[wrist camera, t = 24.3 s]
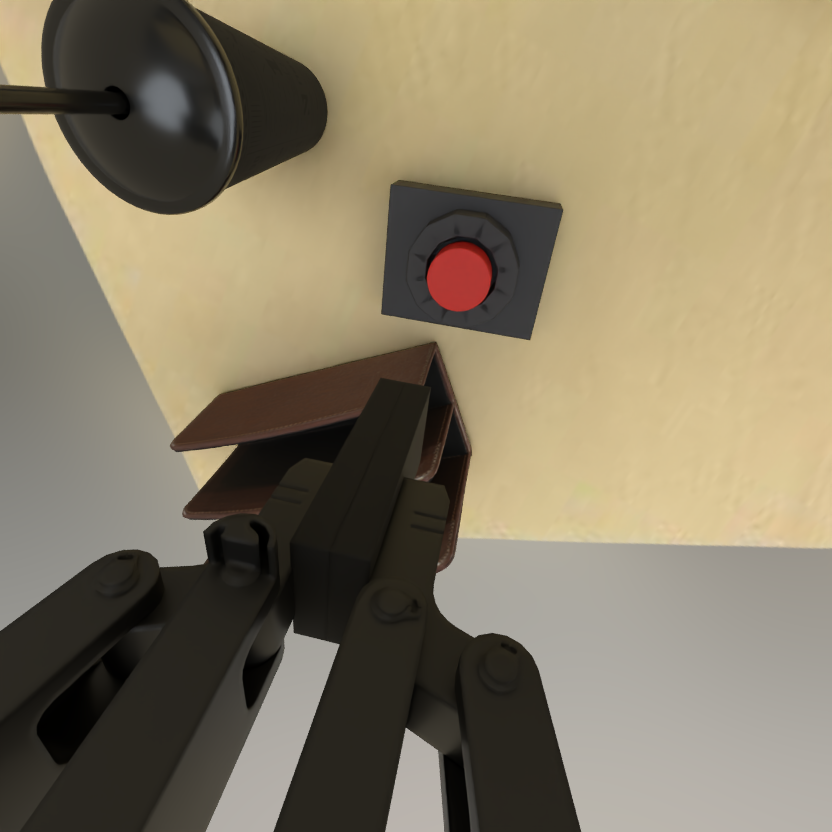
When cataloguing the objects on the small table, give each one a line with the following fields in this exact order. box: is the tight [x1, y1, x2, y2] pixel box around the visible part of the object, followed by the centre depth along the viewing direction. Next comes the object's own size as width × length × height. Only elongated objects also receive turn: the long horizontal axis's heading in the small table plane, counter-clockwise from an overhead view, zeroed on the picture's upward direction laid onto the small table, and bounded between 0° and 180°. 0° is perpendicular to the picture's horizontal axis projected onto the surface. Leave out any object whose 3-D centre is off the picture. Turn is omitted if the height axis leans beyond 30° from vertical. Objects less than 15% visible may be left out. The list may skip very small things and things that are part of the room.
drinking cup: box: [0, 0, 327, 215], centre depth 21 cm, size 8×8×20 cm
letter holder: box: [170, 342, 472, 573], centre depth 35 cm, size 10×20×14 cm, turn 109°
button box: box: [381, 180, 563, 340], centre depth 30 cm, size 10×8×4 cm
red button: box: [427, 241, 492, 311], centre depth 28 cm, size 4×4×2 cm
